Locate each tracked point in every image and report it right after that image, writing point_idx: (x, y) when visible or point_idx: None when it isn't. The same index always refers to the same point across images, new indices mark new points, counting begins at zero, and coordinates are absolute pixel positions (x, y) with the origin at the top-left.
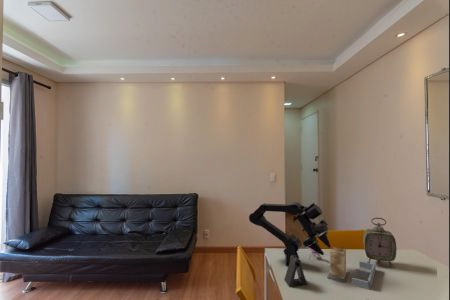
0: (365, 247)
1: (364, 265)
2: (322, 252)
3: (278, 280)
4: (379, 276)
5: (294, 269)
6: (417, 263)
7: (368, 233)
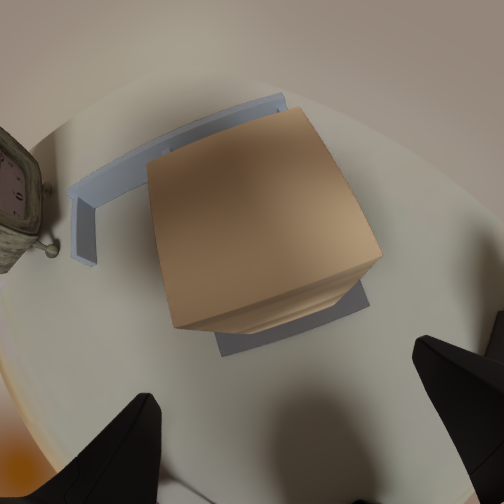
0: (2, 224)
1: (86, 237)
2: (444, 345)
3: None
4: None
5: None
6: None
7: None
